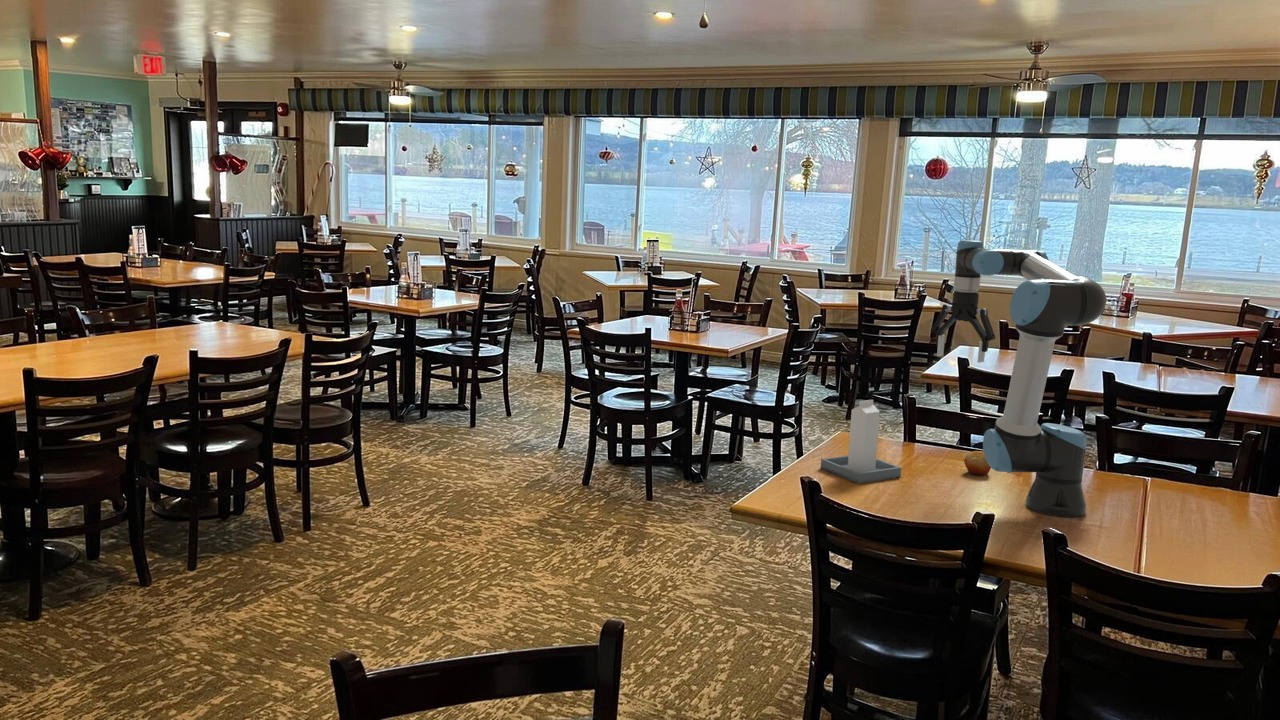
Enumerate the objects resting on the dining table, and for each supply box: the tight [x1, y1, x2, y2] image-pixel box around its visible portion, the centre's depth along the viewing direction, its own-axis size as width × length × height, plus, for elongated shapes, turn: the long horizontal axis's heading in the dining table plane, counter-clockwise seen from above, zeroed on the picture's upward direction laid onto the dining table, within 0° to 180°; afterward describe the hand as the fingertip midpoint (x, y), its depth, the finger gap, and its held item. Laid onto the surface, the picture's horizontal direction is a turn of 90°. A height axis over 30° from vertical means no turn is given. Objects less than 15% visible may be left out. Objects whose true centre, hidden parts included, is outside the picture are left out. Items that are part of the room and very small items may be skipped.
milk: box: [847, 399, 880, 473], centre depth 285 cm, size 6×6×22 cm
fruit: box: [963, 450, 992, 476], centre depth 290 cm, size 8×8×8 cm
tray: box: [820, 455, 902, 485], centre depth 287 cm, size 17×17×3 cm
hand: (960, 358), depth 291 cm, fingers open, 13 cm apart
